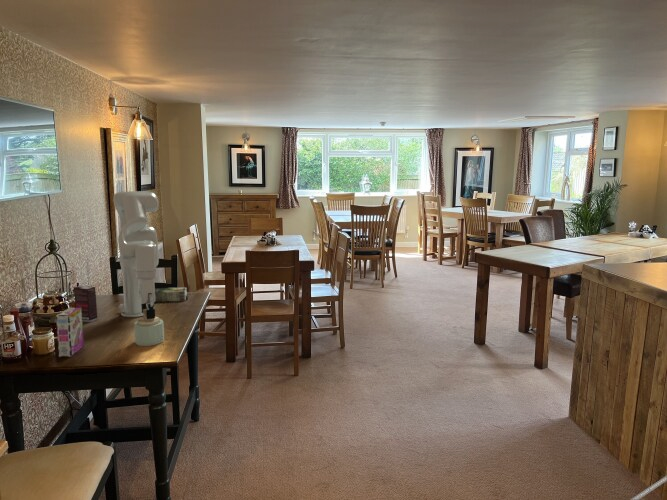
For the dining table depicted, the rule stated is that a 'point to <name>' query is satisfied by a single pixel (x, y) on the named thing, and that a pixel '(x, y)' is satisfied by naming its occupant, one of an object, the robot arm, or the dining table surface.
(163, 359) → the dining table surface
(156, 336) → the canister
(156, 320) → the stopper
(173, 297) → the juice carton
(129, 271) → the robot arm
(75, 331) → the candy bar box
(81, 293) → the supplement box
